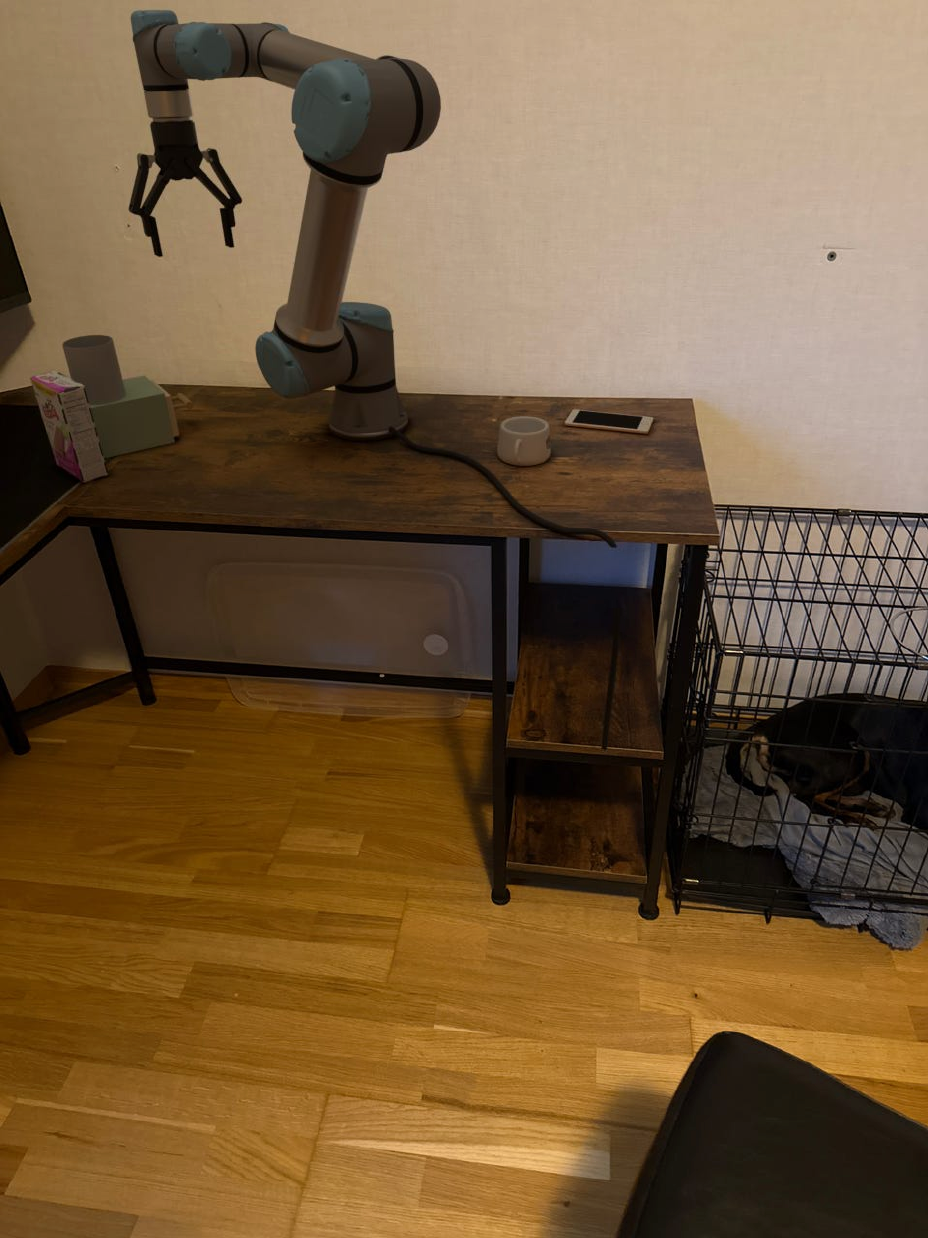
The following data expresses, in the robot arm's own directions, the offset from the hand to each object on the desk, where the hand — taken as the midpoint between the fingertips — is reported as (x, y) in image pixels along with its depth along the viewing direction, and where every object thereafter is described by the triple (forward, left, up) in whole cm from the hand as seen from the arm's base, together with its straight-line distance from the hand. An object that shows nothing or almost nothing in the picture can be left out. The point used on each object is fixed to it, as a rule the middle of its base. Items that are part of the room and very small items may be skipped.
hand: (195, 251), depth 160 cm
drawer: (-5, +17, -30) cm, 35 cm away
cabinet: (-5, +21, -31) cm, 38 cm away
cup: (-7, +24, -21) cm, 33 cm away
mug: (-56, -35, -31) cm, 73 cm away
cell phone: (-52, -59, -31) cm, 84 cm away
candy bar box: (-15, +32, -31) cm, 47 cm away
